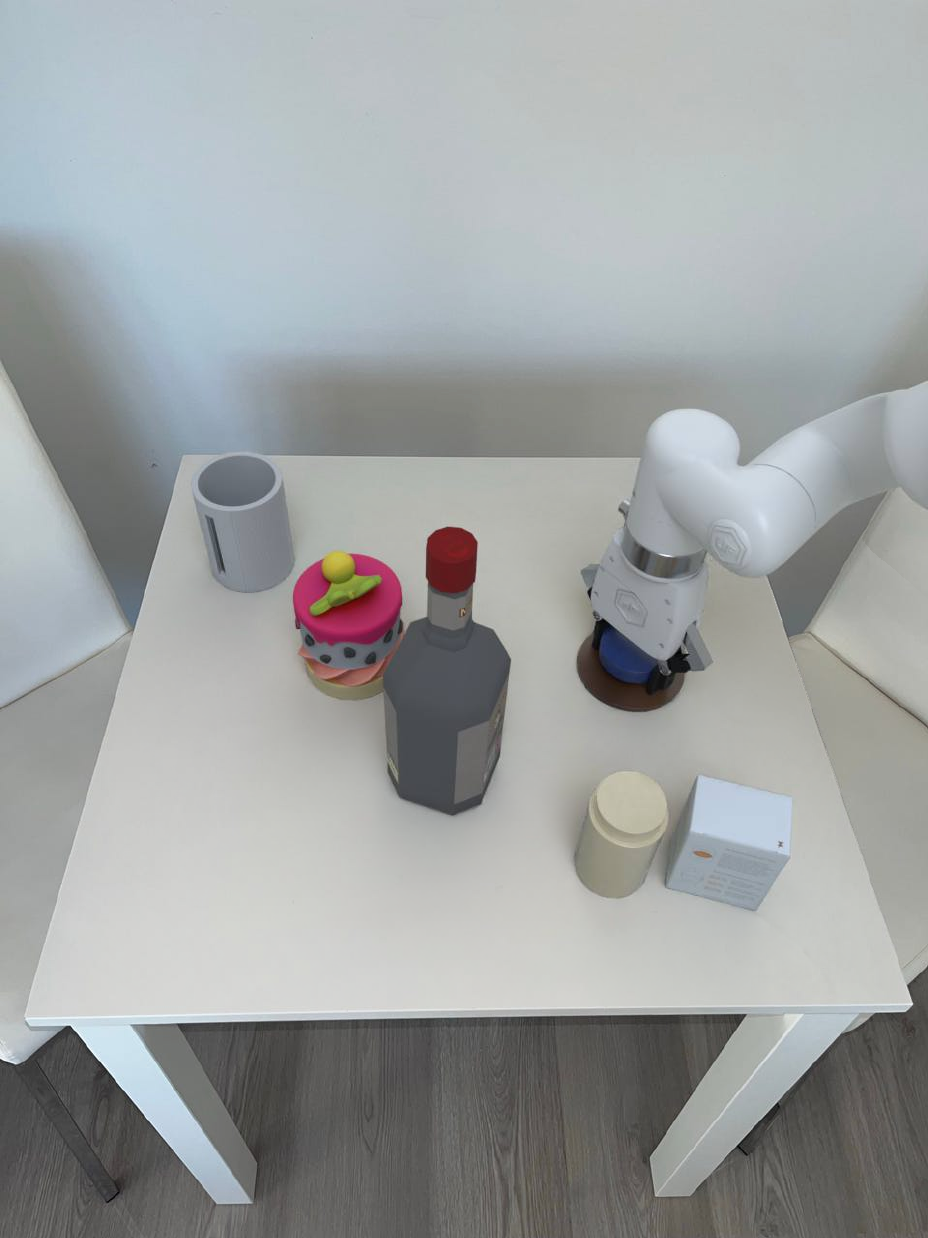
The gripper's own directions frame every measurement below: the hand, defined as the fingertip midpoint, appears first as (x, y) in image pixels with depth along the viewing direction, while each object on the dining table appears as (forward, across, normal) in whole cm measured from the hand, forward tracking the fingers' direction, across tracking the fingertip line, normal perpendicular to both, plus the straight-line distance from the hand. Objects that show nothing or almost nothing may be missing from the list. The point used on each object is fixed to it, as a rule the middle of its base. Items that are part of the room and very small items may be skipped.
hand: (630, 662), depth 96 cm
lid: (-3, 0, 0) cm, 3 cm away
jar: (+1, +14, -18) cm, 22 cm away
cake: (+1, -19, -21) cm, 28 cm away
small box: (+1, +20, -11) cm, 23 cm away
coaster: (+1, 0, 0) cm, 1 cm away
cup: (+1, -37, -22) cm, 43 cm away
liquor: (+1, -3, -23) cm, 23 cm away
